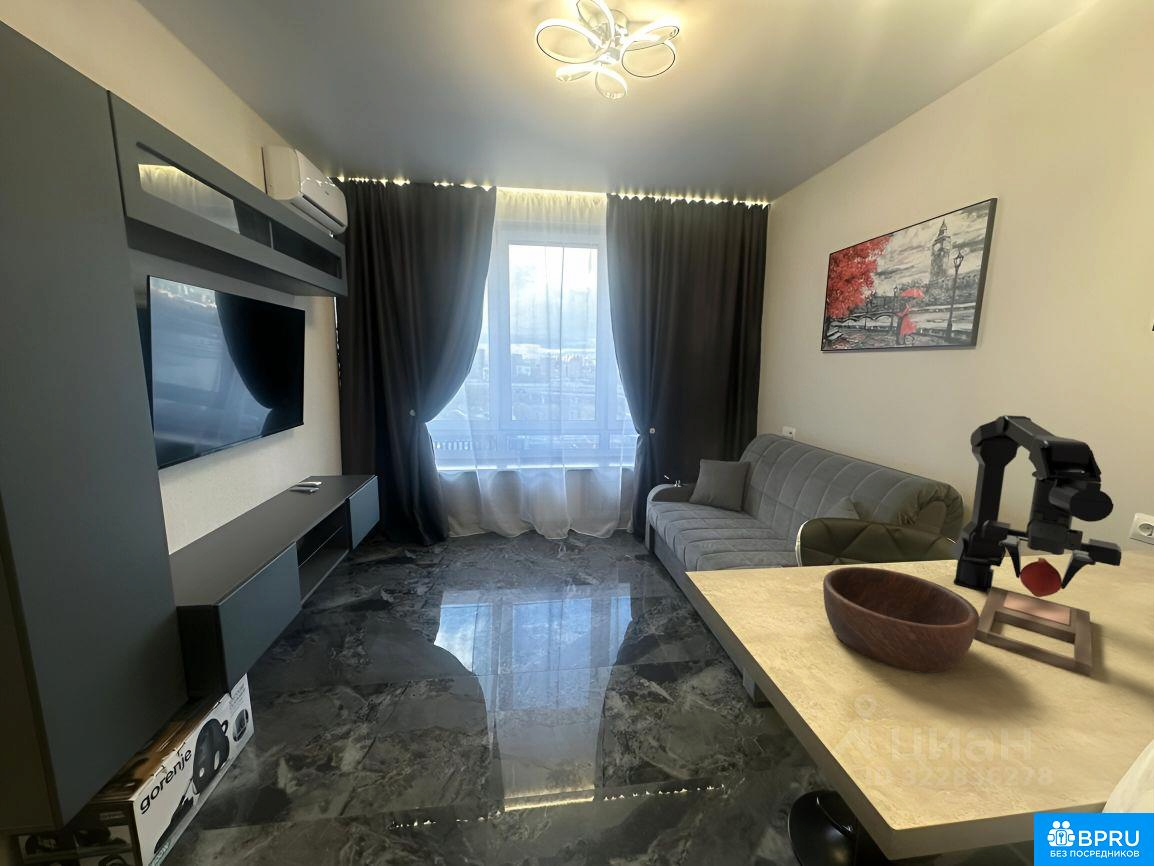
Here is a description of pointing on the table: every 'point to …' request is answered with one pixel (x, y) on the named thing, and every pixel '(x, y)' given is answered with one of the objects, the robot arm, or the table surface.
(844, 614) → the wooden bowl
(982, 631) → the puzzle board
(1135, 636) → the table surface
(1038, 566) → the onion
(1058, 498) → the robot arm
